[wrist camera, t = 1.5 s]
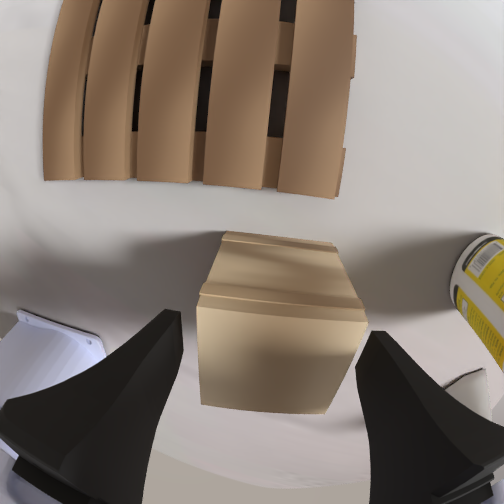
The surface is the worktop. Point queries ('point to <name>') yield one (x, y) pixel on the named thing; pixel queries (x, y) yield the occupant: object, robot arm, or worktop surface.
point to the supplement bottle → (482, 291)
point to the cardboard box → (276, 325)
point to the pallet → (186, 93)
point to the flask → (473, 393)
